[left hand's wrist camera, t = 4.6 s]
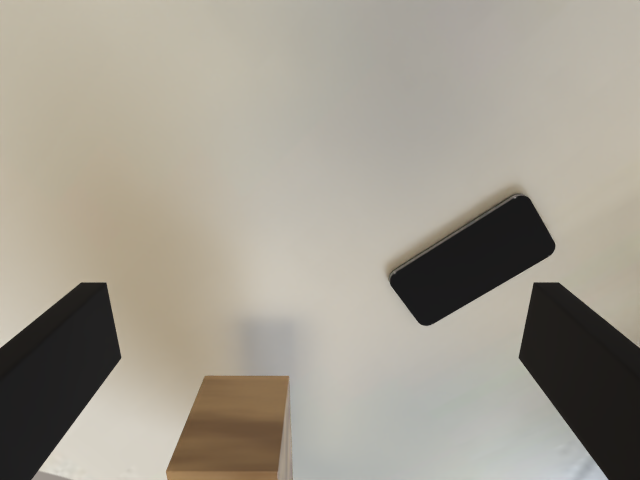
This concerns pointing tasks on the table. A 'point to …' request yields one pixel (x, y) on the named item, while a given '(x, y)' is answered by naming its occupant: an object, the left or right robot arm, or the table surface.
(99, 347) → the left robot arm
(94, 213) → the table surface
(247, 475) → the box
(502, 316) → the table surface
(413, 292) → the smartphone
